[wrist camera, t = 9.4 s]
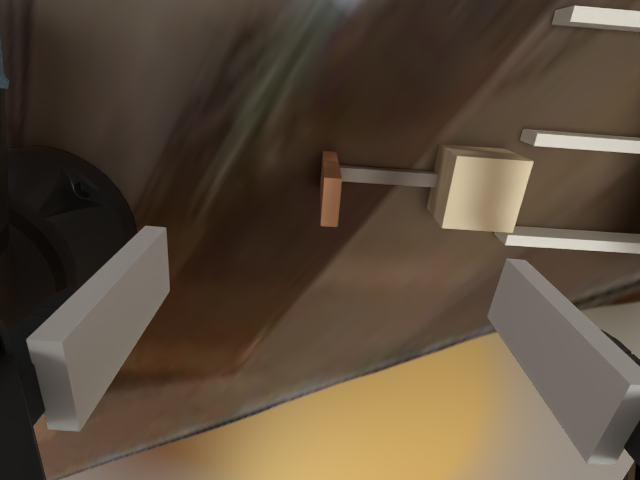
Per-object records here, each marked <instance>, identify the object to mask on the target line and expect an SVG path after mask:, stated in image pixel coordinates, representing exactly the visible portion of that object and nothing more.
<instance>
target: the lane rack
mask: <svg viewBox="0 0 640 480" xmlns="http://www.w3.org/2000/svg"><path fill="white" fill-rule="evenodd" d="M552 25H562V26H574V27H585V28H597V29H609V30H620V31H632V32H640V11H630V10H619V9H607V8H596V7H584V6H571V7H567V8H562V9H558V10H555V14H554V17H553V21H552ZM520 141H522V142H525V143H528V144H530V145H533V146H543V147H557V148H570V149H584V150H597V151H611V152H624V153H638V154H640V138H638V137H625V136H612V135H599V134H585V133H572V132H559V131H545V130H532V129H523V130H522V134H521V137H520ZM494 235H495V236H496V237H497V238H498V239H499V240H500V241H501V242H503V243H504V244H505V245H513V246H529V247H545V248H560V249H576V250H592V251H607V252H623V253H638V254H640V234H630V233H615V232H600V231H585V230H570V229H555V228H539V227H524V226H515V227H514V230H513V233H509V232H494Z"/></svg>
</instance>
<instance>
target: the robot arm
mask: <svg viewBox="0 0 640 480" xmlns="http://www.w3.org/2000/svg"><path fill="white" fill-rule="evenodd" d="M8 86H9V79H8V78H7V77H6V76H5V74H4V67H3V57H2V47H1V37H0V480H46V477H45V473H44V469H43V465H42V461H41V457H40V453H39V449H38V444H37V440H36V436H35V433H34V429H33V426H34V424H35V423H36V422H37V420H38V419H39V418H40V417H41V415H42V414H43V413H44V414H45V418H46V422H47V427H48V429H51V430H67V431H81V429H82V427H83V426H84V424H85V423H86V421H87V420H88V418H89V416H90V415H91V413H92V412H93V410H94V409H95V407H96V406H97V404H98V402H99V401H100V399H101V398H102V396H103V395H104V393H105V391H106V390H107V388H108V387H109V385H110V384H111V382H112V381H113V379H114V377H115V376H116V374H117V373H118V371H119V370H120V368H121V366H122V365H123V363H124V362H125V360H126V359H127V357H128V356H129V354H130V352H131V351H132V349H133V348H134V346H135V345H136V343H137V341H138V340H139V338H140V337H141V335H142V334H143V332H144V331H145V329H146V327H147V326H148V324H149V323H150V321H151V320H152V318H153V316H154V315H155V313H156V312H157V310H158V309H159V307H160V306H161V304H162V302H163V301H164V299H165V298H166V296H167V295H168V293H169V291H170V283H169V266H168V249H167V232H166V228H165V227H154V226H145V227H143V228H142V229H141V230H140V231H139V232H138V233H137V234H136V228H135V223H134V219H133V216H132V213H131V211H130V209H129V207H128V205H127V203H126V201H125V199H124V198H123V196H122V195H121V193H120V192H119V191H118V189H117V188H116V187H115V186H114V184H113V183H112V182H111V181H110V180H109V179H108V178H107V177H106V176H105V175H104V174H102V173H101V172H100V171H99V170H98V169H96V168H95V167H93V166H92V165H91V164H89V163H87V162H86V161H84V160H82V159H80V158H79V157H76V156H74V155H72V154H70V153H67V152H64V151H61V150H58V149H54V148H49V147H43V146H21V147H15V148H11V149H7V142H6V114H5V89H8ZM487 317H488V319H489V320H490V322H491V323H492V325H493V326H494V328H495V329H496V331H497V332H498V333H499V335H500V336H501V338H502V339H503V341H504V342H505V344H506V345H507V347H508V348H509V350H510V351H511V353H512V354H513V356H514V357H515V358H516V360H517V361H518V363H519V364H520V366H521V367H522V369H523V370H524V372H525V373H526V375H527V376H528V378H529V379H530V380H531V382H532V383H533V385H534V386H535V388H536V389H537V391H538V392H539V394H540V395H541V397H542V398H543V400H544V401H545V403H546V404H547V406H548V407H549V408H550V410H551V411H552V413H553V414H554V416H555V417H556V419H557V420H558V422H559V423H560V425H561V426H562V428H563V429H564V430H565V432H566V433H567V435H568V436H569V438H570V439H571V440H572V442H573V443H574V445H575V447H576V448H577V449H578V451H579V452H580V454H581V455H582V457H583V458H584V460H585V461H586V463H590V464H605V465H615V463H616V461H617V460H618V458H619V456H620V455H621V453H622V451H623V449H624V448H625V450H626V451H627V452H628V453H629V455H630V456H631V457H632V458H633V459H634V463H633V464H632V466H631V468H630V469H629V471H628V472H627V474H626V476H625V477H624V479H623V480H640V359H638V358H637V357H636V356H635V355H634V354H631V351H630V350H628V349H627V348H626V347H625V346H624V345H623V344H622V343H621V342H620V341H618V340H617V339H616V338H614V337H612V336H611V335H609V334H607V333H606V332H604V331H603V330H600V329H599V328H598V327H597V326H596V325H595V324H593V323H592V322H591V321H590V320H589V319H588V318H587V317H586V316H585V315H584V314H583V313H582V312H581V311H580V310H578V309H577V308H576V307H575V306H574V305H573V304H572V303H571V302H570V301H569V300H568V299H567V298H566V297H565V296H563V295H562V294H561V293H560V292H559V291H558V290H557V289H556V288H555V287H554V286H553V285H552V284H551V283H550V282H548V281H547V280H546V279H545V278H544V277H543V276H542V275H541V274H540V273H539V272H538V271H537V270H536V269H535V268H533V267H532V266H531V265H530V264H529V263H528V262H527V261H526V260H518V259H506V262H505V265H504V268H503V271H502V274H501V277H500V280H499V283H498V286H497V289H496V292H495V295H494V298H493V301H492V304H491V307H490V310H489V313H488V316H487Z"/></svg>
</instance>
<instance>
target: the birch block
mask: <svg viewBox="0 0 640 480" xmlns="http://www.w3.org/2000/svg"><path fill="white" fill-rule="evenodd" d="M533 162H534V161H532V160H529V159H527V158H525V157H523V156H520V155H518V154H516V153H514V152H512V151H509V150H507V149H502V148H488V147H473V146H459V145H445V144H439V147H438V152H437V157H436V162H435V167H434V171H420V170H406V169H391V168H377V167H362V166H348V165H339V162H338V157H337V152H333V151H323V155H322V169H321V182H320V220H321V226H330V227H338V216H339V206H340V195H341V185H342V181H346V182H361V183H376V184H390V185H405V186H420V187H431V188H430V194H429V199H428V204H427V209H428V211H429V212H430V213H431V215H432V216H433V217H434V219H435V220H436V221H437V222H438V224H439V225H440V226H441V228H447V229H462V230H478V231H493V232H509V233H513V230H514V227H515V223H516V220H517V217H518V213H519V210H520V206H521V203H522V199H523V196H524V193H525V189H526V186H527V182H528V179H529V176H530V172H531V169H532V165H533Z"/></svg>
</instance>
